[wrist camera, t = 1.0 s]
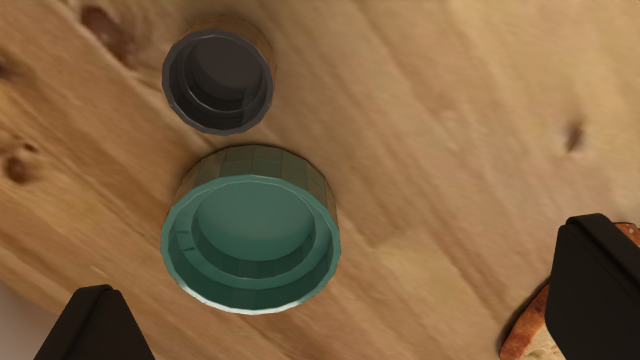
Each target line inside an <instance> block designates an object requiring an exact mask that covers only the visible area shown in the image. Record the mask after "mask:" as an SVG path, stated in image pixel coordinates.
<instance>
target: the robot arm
mask: <svg viewBox="0 0 640 360" xmlns="http://www.w3.org/2000/svg"><path fill="white" fill-rule="evenodd" d="M544 319H545V324H546V327H547V330H548V332H549V334H550V335H551V337H552V339H553V340H554V342H555V343H556V345H557V346H558V348H559V350H560V351H561V353H562V354H563V356H564V358H565V359H566V360H640V247H638V246H637V245H636V244H635V243H634V242H633V241H632V240H631V239H630V238H629V237H628V236H627V235H625V234H624V233H623V232H622V231H621V230H620V229H619V228H618V227H617V226H616V225H615V224H614V223H612V222H611V221H610V220H609V219H608V218H607V217H606V216H604V215H603V214H600V213H595V214H588V215H581V216H574V217H570V218H568V220H567V221H566V224H565V225H562V226H560V228H559V230H558V235H557V241H556V247H555V253H554V259H553V265H552V271H551V277H550V283H549V290H548V296H547V302H546V308H545V314H544ZM34 360H155V358H154V356H153V354H152V352H151V350H150V348H149V346H148V344H147V342H146V340H145V338H144V336H143V335H142V333H141V331H140V329H139V327H138V325H137V323H136V321H135V319H134V317H133V315H132V313H131V311H130V309H129V307H128V305H127V303H126V301H125V299H124V298H123V296H122V294H121V292H120V291H119V290H113V288H112V287H111V286H110V285H108V284H104V285H97V286H90V287H83V288H79V289H77V290H76V291H75V293H74V294H73V296H72V297H71V299H70V300H69V302H68V304H67V305H66V307H65V309H64V310H63V312H62V314H61V315H60V317H59V318H58V320H57V322H56V323H55V325H54V327H53V328H52V330H51V332H50V333H49V335H48V336H47V338H46V340H45V341H44V343H43V345H42V346H41V348H40V350H39V351H38V353H37V355H36V356H35V358H34Z"/></svg>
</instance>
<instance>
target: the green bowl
mask: <svg viewBox="0 0 640 360" xmlns="http://www.w3.org/2000/svg"><path fill="white" fill-rule="evenodd" d="M160 250H161V254H162V257H163V259H164V262H165V265H166V267H167V270H168V272H169V274H170V275H171V276H172V277H173V278H174V280H175V281H176V282H177V283H178V284H179V286H180V287H181V288H182V289H183V290H184V291H185V292H187V293H188V294H190V295H192V296H193V297H195V298H196V299H198V300H199V301H201V302H202V303H205V304H206V305H209V306H212V307H215V308H218V309H221V310H224V311H226V312H231V313H241V314H250V315H257V314H266V313H275V312H281V311H283V310H286V309H289V308H292V307H294V306H297V305H300V304H302V303H304V302H305V301H307V300H308V299H310V298H311V297H313V296H314V295H315V294H317V293H318V292H320V291H321V290H322V289H323V288H324V286H325V285H326V284H327V282H328V281H329V280H330V279H331V277H332V276H333V275H334V273H335V271H336V268H337V264H338V261H339V258H340V255H341V245H340V235H339V227H338V220H337V214H336V207H335V201H334V197H333V195H332V193H331V191H330V189H329V187H328V185H327V183H326V181H325V179H324V178H323V176H322V175H321V174H319V173H318V172H317V171H316V170H315V169H314V168H313V167H312V166H311V165H310V164H309V163H308V162H307V161H305V160H303V159H301V158H299V157H297V156H295V155H293V154H291V153H289V152H287V151H285V150H282V149H278V148H272V147H266V146H260V145H248V146H239V147H231V148H226V149H224V150H222V151H219V152H217V153H215V154H212V155H210V156H208V157H206V158H203V159H202V160H201V161H200V162H199V163H198V164H197V165H195V166H194V167H193V168H192V169H191V170H190V171H189V172H188V173H187V174H186V175H185V177H184V179H183V181H182V183H181V185H180V187H179V189H178V191H177V193H176V195H175V197H174V200H173V202H172V204H171V207H170V209H169V212H168V214H167V216H166V219H165V221H164V223H163V226H162V228H161V247H160Z"/></svg>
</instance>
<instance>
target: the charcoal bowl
mask: <svg viewBox="0 0 640 360" xmlns="http://www.w3.org/2000/svg"><path fill="white" fill-rule="evenodd" d="M275 74H276V63H275V59H274V54H273V50H272V47H271V46H270V44H269V43H268V41H267V40H266V38H265V37H264V36H263V34H262V33H261V31H260V30H258V29H257V28H255V27H254V26H252V25H251V24H249V23H248V22H246V21H245V20H242V19H239V18H235V17H230V16H225V15H223V16H222V15H219V16H214V17H210V18H205V19H203V20H201V21H199V22H198V23H197V24H195V25H194V26H192V27H191V28H190V29H188V30H187V31H186V32H185V33H184V34H183V35H182V37H180V38H179V39H178V40H177V42H176V43H175V44H174V45H173V46H172V47H171V49H170V51H169V53H168V55H167V57H166V59H165V61H164V63H163V70H162V87H163V90H164V92H165V95H166V98H167V100H168V103H169V105H170V107H171V108H172V109H173V110H174V111H175V113H176V114H177V115H178V116H179V117H180V118H181V119H182V120H183V122H185V123H186V124H188V125H190V126H192V127H193V128H195V129H197V130H199V131H201V132H203V133H207V134H213V135H219V136H228V135H233V134H239V133H243V132H245V131H247V130H248V129H250V128H252V127H253V126H255V125H256V124H258V123H259V122H260V121H261V120H262V118H263V117H264V115H265V114H266V112H267V111H268V109H269V108H270V106H271V102H272V96H273V91H274V84H275Z"/></svg>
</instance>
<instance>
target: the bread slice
mask: <svg viewBox="0 0 640 360" xmlns="http://www.w3.org/2000/svg"><path fill="white" fill-rule="evenodd" d="M615 225H616V226H617V227H618V228H619V229H620V230H621V231H622V232H623V233H624V234H625V235H627V236H628V237H629V238H630V239H631V240H632V241H633V242H634V243H635V244H636V245H637V246H638V247H640V229H638V228H637V227H636V226H635V225H634V224H626V223H624V224H615ZM548 290H549V284H548V285H546V286H545V287H544V288H543V289H542V290H541V292H540V293H539V294H538V296H537V297H536V298H535V299H534V300H533V301H532V302H531V303H530V304H529V306H528V307H527V309H526V310H525V311H524V312H523V313H522V314H521V315H520V317H519V318H518V320H517V321H516V323H515V325H514V326H513V328H512V330H511V332H510V334H509V336H508V338H507V339H506V341H505V342H504V344H503V346H502V348H501V350H500V360H566V359H565V358H564V356H563V354H562V353H561V351H560V350H559V348H558V346H557V345H556V343H555V342H554V340H553V339H552V337H551V335H550V334H549V332H548V330H547V327H546V324H545V319H544V314H545V308H546V302H547V296H548Z"/></svg>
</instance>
